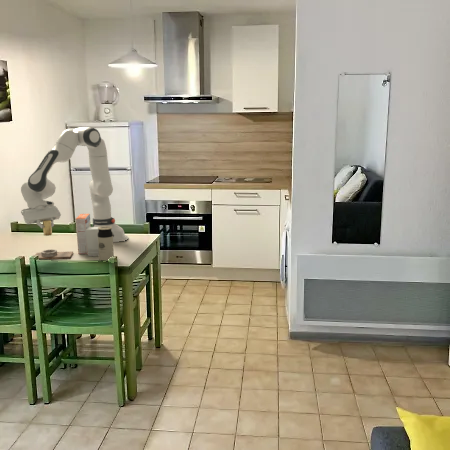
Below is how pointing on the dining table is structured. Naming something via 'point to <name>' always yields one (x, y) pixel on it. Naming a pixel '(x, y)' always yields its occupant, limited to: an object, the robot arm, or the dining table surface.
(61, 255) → the coupling base
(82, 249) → the cracker box
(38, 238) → the dining table surface
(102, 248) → the travel mug
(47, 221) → the cylinder
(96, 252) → the skincare box
